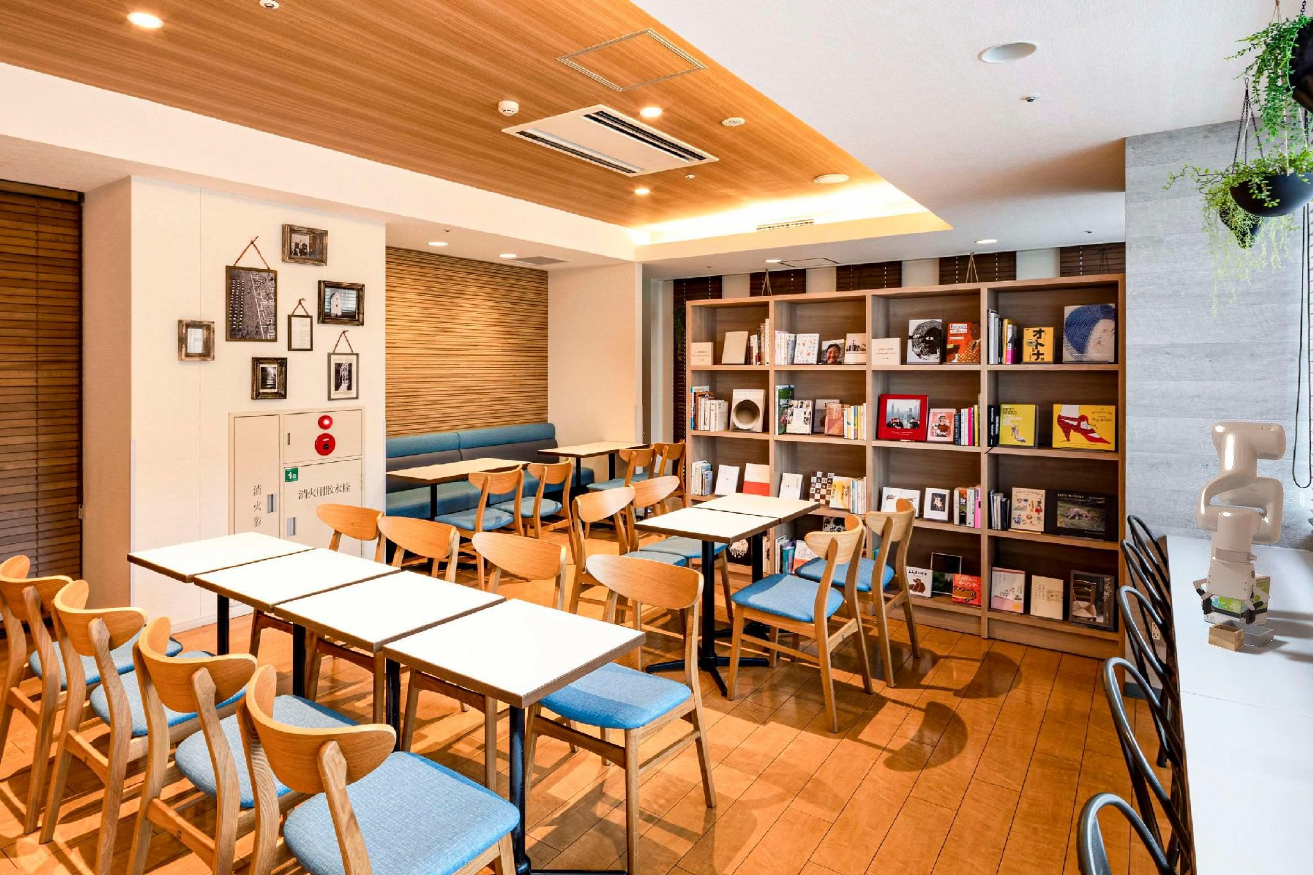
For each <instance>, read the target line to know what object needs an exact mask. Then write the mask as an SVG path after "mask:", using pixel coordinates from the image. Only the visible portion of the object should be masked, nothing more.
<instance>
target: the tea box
mask: <svg viewBox="0 0 1313 875" xmlns="http://www.w3.org/2000/svg"><path fill="white" fill-rule="evenodd" d="M1255 576H1256V587H1257V588H1259V589H1260V590H1262V591H1263V592H1265V593H1266V594H1268V595H1269V596H1270V587H1271V575H1270V576H1269V575H1265V574H1259V573H1256V572H1255ZM1205 592H1207V590H1206V591H1205ZM1210 599H1212V609H1211V613H1210V614H1207V615H1204V614H1203V621H1205V622H1209V623H1211V624H1214V625H1216V624H1219V623H1221V622H1224V621H1226V620H1229V619H1231V620H1235V621H1240V622H1244V623H1245V622H1246V610H1247V609H1248V608H1249V607H1248V606H1247V605H1246V604H1245V602H1244V601H1240V600H1234V599H1230V598H1225V597H1220V596H1215V595H1213V596H1212V597H1210ZM1260 599H1261V597H1260V596H1259V595H1257V594H1256V595H1255V598H1254V599H1253V600H1254V601H1255V602H1258V601H1259V600H1260ZM1268 607H1269V600H1268V601H1267V602H1266V603H1265V604H1264V605H1263V606H1261V607H1259V608H1258V609H1256V619H1255V622H1253V623H1252V625H1257V626H1260V625H1265V624H1266V623H1267V617H1268V609H1269V608H1268Z"/></svg>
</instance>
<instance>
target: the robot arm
mask: <svg viewBox="0 0 1313 875" xmlns="http://www.w3.org/2000/svg"><path fill="white" fill-rule="evenodd" d="M1210 433H1211V440H1212V444H1213V446H1214V447H1215V450H1216V452H1217V455H1218V459H1219V467H1218V468H1219V469H1218V470H1219V472H1218V474H1217V475H1216V476H1215V477H1213V478H1212V479H1210V480H1209V481H1208V482H1207V483H1206V484H1205V485H1204V486H1203V487H1202V489H1201V490H1200V492H1199V495H1198V498H1197V508H1196V509H1197V510H1196V524H1197V526H1198V527H1199V528H1200V529H1201V530H1202V531H1207V532H1210V541H1211V543H1210V544H1211V547H1210V563H1209V569H1208V573H1207V577H1206V578H1202V579H1201V578H1200V579H1197V580H1193V581H1192V585H1193V587H1194V589H1195V591H1196V593H1197V594H1198V596H1200V600H1202V601H1201V603H1200V604H1201V609H1202V611H1203V616H1204V615H1207V614H1210V613H1211V609H1212V599H1210V597H1212V596H1213V595H1215V596H1220V597H1225V598H1230V599H1234V600H1240V601H1244V602H1245V604H1246V605H1247V606H1248V607H1249V608H1248V609H1247V610H1246V622H1245V623H1246V624H1248V625H1249V624H1252V623H1253V622H1255V619H1256V609H1258V608H1259V607H1261V606H1263V605H1264V604H1265V603H1266V602H1267V601H1268V602H1269V599H1270V598H1271V595H1270V594H1269V595H1268V594H1266V593H1265V592H1263V591H1262V590H1260V589H1259V588H1257V587H1256V576H1255V573H1256V570H1255V564H1254V563H1252V561H1257V560H1258V556H1257V555H1254V554H1253V551H1252V543H1253V544H1254V543H1255V544H1264V545H1273V544H1277V543H1278V542H1279V541H1280V537H1281V536H1282V535H1281V534H1282V526H1283V525H1282V524H1283V513H1284V512H1283V510H1284V509H1283V508H1284V492H1285V491H1284V487H1283V484H1282V482H1281V481H1280V480H1279V479H1276V478H1272V477H1263V476H1257V475H1258V474H1257V472H1258V460H1264V461H1265V460H1268V461H1269V460H1270V461H1279V460H1282V458H1283V457H1284V456H1285V452H1286V450H1287V436H1286V432H1285V429H1284V427H1283V426H1282V425H1281V424H1279V423H1272V422H1271V423H1270V422H1252V421H1251V422H1250V421H1249V422H1248V421H1222V422H1217V423H1215V424H1213V426H1212V428H1211V432H1210ZM1216 496H1218V500H1219V501H1220V503H1222V504H1225V505H1222V504H1210V503H1211V500H1212V498H1213V497H1216ZM1253 508H1256V509H1261V510H1262V511H1263V512H1261V511H1257V510H1256V509H1253ZM1203 584H1206V587H1205V588H1206V591H1207V592H1206V591H1205V589H1204V588H1203V586H1202V585H1203ZM1256 594H1257V595H1259V596H1260V597H1261V599H1260V600H1259V601H1258V602H1255V601H1254V600H1253V599H1254V598H1255V595H1256Z"/></svg>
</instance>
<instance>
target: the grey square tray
mask: <svg viewBox="0 0 1313 875" xmlns="http://www.w3.org/2000/svg"><path fill="white" fill-rule="evenodd" d="M1219 624H1224V625H1228V626H1232V627H1236V628H1240V629H1245V633H1244V645H1248V646H1251V645H1254V646H1253V647H1255V646H1256V648H1260V647H1262V646H1264V645H1266V644H1269V643H1271V642H1272V641H1271V640H1273V641H1274V638H1275V629H1273V628H1270V627H1269V628H1268V627H1266V626H1260V625H1252V624H1249V625H1248V624H1246V623H1244V622H1240V621H1235V620H1231V619H1229V620H1226V621H1224V622H1221V623H1219ZM1270 641H1271V642H1270ZM1261 645H1262V646H1261Z"/></svg>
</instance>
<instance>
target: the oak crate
mask: <svg viewBox="0 0 1313 875" xmlns="http://www.w3.org/2000/svg"><path fill="white" fill-rule="evenodd" d="M1208 629H1209V630H1208V640H1207V641H1208V642H1207V645H1208V644H1210V645H1209V646H1212V645H1214V646H1213V647H1216V646H1217V647H1216V648H1219V647H1221V648H1220V649H1223V650H1227V651H1231V652H1236V651H1238V650H1241V649H1242V647H1243V648H1244V647H1245V646H1244V645H1245V644H1244V633H1245V629H1240V628H1236V627H1232V626H1228V625H1224V624H1214V625H1211V626H1209V628H1208Z"/></svg>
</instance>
